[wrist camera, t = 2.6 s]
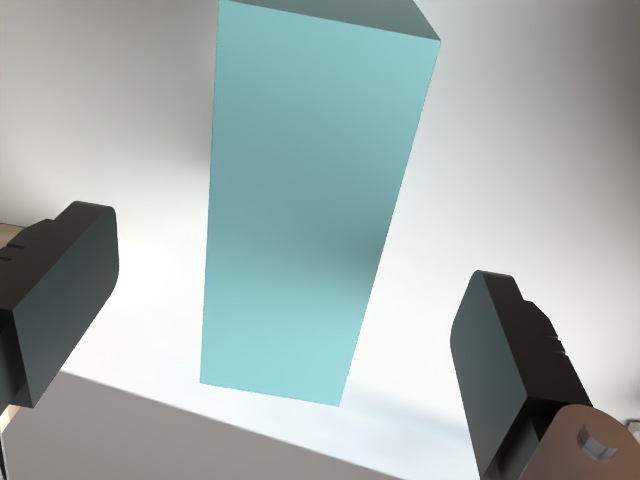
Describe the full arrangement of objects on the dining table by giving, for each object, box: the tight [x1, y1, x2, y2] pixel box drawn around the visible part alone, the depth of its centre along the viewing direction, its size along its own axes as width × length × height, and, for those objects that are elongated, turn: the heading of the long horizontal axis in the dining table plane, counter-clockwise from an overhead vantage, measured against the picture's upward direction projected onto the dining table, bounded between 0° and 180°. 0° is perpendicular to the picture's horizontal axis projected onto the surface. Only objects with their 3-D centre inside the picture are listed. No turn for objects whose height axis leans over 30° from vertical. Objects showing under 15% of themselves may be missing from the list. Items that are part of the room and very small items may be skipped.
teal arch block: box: [200, 0, 441, 406], centre depth 17 cm, size 10×4×12 cm, turn 171°
